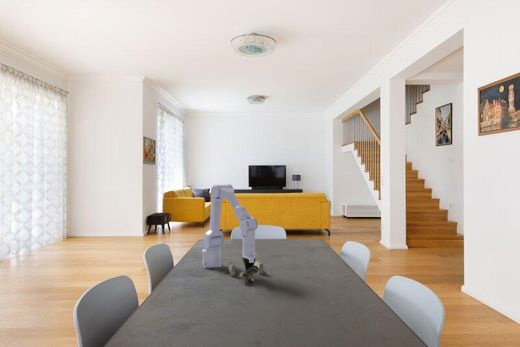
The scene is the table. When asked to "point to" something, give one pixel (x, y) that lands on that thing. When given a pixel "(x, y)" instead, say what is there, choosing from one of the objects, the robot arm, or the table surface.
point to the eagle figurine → (249, 273)
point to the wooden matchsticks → (259, 265)
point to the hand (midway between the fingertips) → (248, 274)
